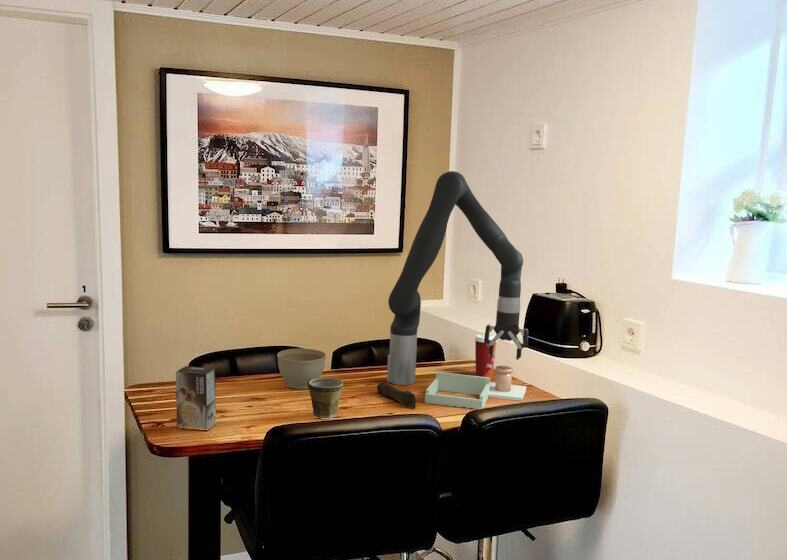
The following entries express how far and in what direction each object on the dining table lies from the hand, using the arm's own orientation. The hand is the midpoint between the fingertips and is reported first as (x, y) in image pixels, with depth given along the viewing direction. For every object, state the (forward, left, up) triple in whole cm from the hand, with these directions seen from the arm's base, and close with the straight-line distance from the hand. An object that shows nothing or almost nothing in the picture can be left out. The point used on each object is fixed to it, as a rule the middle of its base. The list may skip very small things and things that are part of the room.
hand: (504, 357), depth 228 cm
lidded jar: (0, 0, -11) cm, 11 cm away
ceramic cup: (-48, -43, -12) cm, 66 cm away
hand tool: (-30, -22, -12) cm, 39 cm away
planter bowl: (-65, -19, -12) cm, 69 cm away
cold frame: (-13, -13, -12) cm, 22 cm away
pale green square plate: (0, 0, -12) cm, 12 cm away
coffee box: (-76, -65, -12) cm, 101 cm away
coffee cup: (-9, +17, -12) cm, 22 cm away
